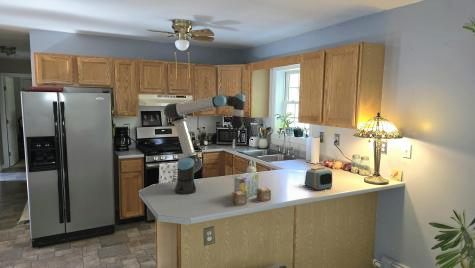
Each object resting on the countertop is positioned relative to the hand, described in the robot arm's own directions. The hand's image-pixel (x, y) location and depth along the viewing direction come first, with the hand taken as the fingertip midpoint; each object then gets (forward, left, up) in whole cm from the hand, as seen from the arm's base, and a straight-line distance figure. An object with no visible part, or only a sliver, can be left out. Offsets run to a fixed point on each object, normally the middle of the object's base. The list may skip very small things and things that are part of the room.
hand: (233, 148), depth 222 cm
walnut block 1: (+25, -7, -32) cm, 41 cm away
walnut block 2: (+24, +12, -32) cm, 42 cm away
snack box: (+14, +4, -32) cm, 35 cm away
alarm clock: (+15, +68, -32) cm, 77 cm away
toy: (-25, +28, -32) cm, 50 cm away
